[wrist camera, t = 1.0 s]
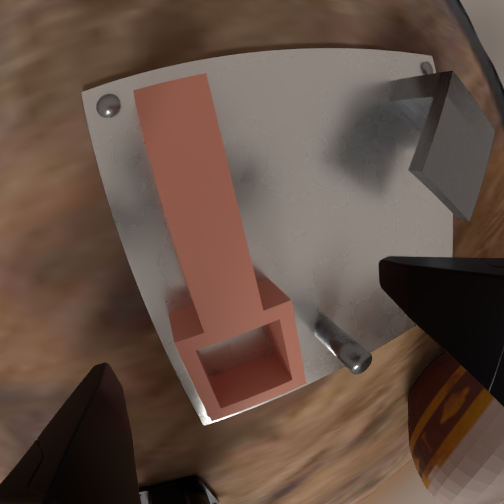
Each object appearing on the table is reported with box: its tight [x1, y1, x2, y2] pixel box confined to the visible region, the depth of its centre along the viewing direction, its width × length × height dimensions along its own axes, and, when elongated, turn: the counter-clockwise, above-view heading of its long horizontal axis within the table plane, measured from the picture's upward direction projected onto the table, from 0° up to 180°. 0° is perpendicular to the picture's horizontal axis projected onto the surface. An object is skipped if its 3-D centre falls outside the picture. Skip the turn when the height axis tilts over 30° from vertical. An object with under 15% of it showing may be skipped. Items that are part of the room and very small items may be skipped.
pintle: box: [314, 319, 372, 374], centre depth 19 cm, size 2×2×4 cm
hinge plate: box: [81, 48, 453, 426], centre depth 19 cm, size 22×24×1 cm
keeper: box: [388, 71, 495, 222], centre depth 17 cm, size 7×6×5 cm
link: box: [133, 73, 306, 421], centre depth 15 cm, size 17×6×3 cm, turn 14°
